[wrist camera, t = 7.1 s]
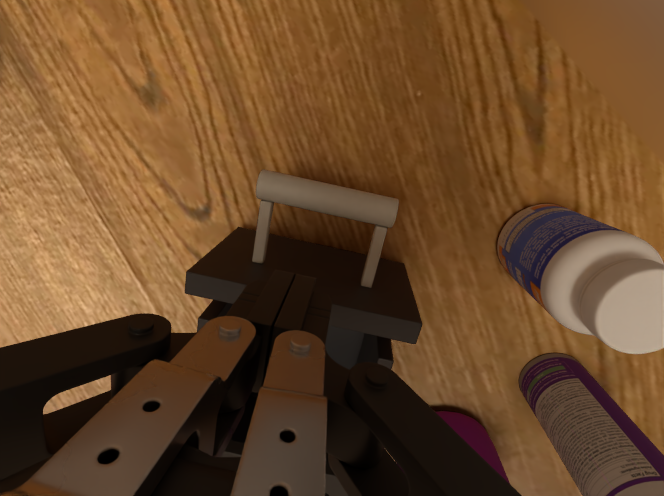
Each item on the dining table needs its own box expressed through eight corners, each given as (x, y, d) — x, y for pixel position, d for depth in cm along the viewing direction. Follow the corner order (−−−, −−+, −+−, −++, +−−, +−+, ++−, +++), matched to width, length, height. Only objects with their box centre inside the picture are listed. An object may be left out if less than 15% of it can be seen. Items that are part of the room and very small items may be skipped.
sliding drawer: (247, 152, 23) (193, 166, 16) (425, 191, 23) (456, 224, 15) (218, 386, 29) (170, 475, 22) (358, 417, 29) (357, 517, 22)
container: (594, 386, 28) (841, 667, 13) (536, 413, 29) (706, 696, 15) (567, 342, 26) (802, 595, 12) (507, 371, 28) (660, 633, 14)
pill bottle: (479, 258, 25) (548, 338, 16) (527, 187, 23) (636, 230, 14) (547, 291, 25) (653, 388, 16) (599, 224, 24) (751, 290, 14)
